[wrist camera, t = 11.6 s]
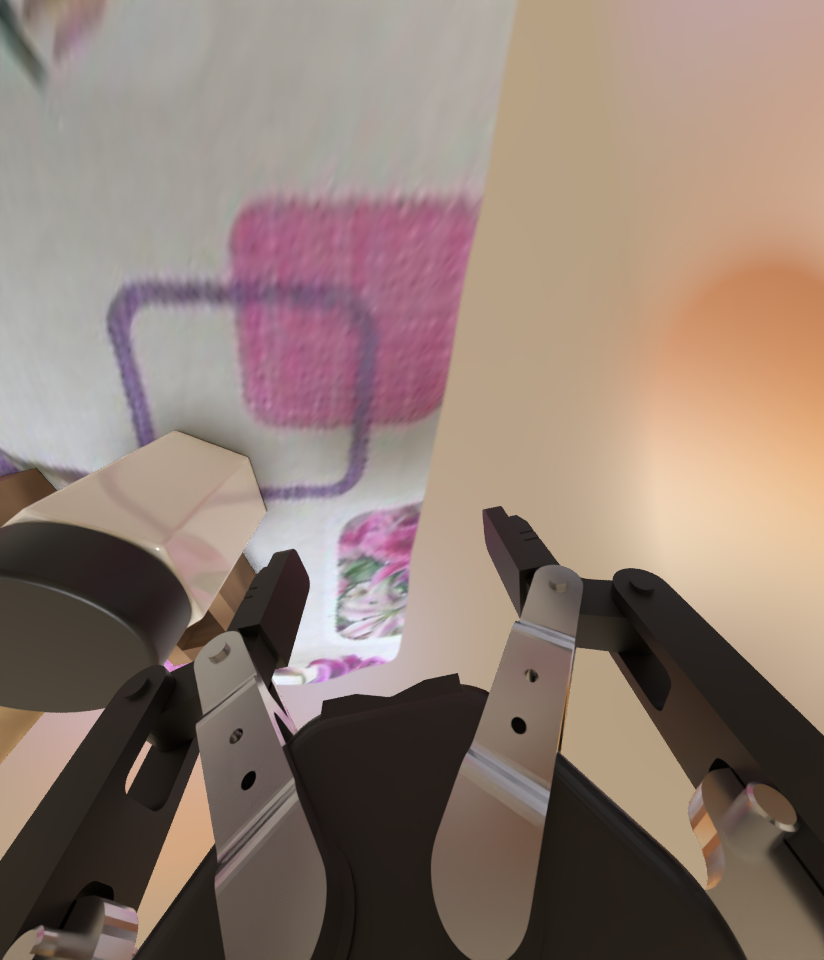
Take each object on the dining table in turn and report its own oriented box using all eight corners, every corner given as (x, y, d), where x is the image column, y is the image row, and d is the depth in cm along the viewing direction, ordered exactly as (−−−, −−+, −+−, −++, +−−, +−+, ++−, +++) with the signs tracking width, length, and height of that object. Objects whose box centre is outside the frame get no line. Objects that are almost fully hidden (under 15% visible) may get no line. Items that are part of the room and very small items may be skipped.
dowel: (68, 605, 24) (-111, 769, 15) (106, 597, 24) (-52, 757, 15) (96, 629, 26) (-53, 791, 17) (131, 622, 26) (1, 780, 17)
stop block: (0, 476, 19) (-85, 510, 16) (35, 468, 19) (-41, 500, 16) (79, 555, 23) (23, 598, 19) (109, 548, 23) (59, 590, 19)
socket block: (154, 566, 24) (115, 608, 20) (239, 547, 24) (214, 586, 20) (201, 621, 27) (174, 665, 24) (275, 605, 27) (259, 647, 24)
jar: (124, 512, 21) (-125, 697, 11) (136, 412, 18) (-195, 533, 8) (253, 549, 24) (154, 727, 13) (282, 466, 21) (184, 612, 10)
